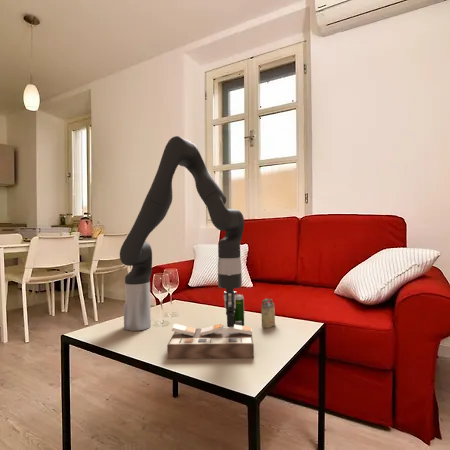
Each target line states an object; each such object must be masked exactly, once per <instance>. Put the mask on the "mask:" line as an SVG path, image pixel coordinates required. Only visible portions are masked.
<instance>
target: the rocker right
mask: <svg viewBox="0 0 450 450" xmlns="http://www.w3.org/2000/svg"><path fill="white" fill-rule="evenodd" d="M228 328H229V331H233V332H239V333H244V334H250V335H252V336H253V329H252V327H251V326H246V325H244V326H241V325H235V324H234V327H231V326H230V327H228Z"/></svg>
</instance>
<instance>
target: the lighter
mask: <svg viewBox="0 0 450 450" xmlns="http://www.w3.org/2000/svg"><path fill="white" fill-rule="evenodd" d="M261 303H262V304H261V309H260V310H261V327H262V328H263V329H270V328H271V327H274V326H275V325H276V316H275V315H276V314H275V313H276V312H275V308H276V307H275V302H273V298H270V299H269V298H264V299H263V300H262V301H261Z"/></svg>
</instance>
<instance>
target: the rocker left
mask: <svg viewBox="0 0 450 450" xmlns="http://www.w3.org/2000/svg"><path fill="white" fill-rule="evenodd" d="M196 329H197V328H194V327H191V326H185V325H181V324H179V323H174V324H173V326H172V328H171V331H172V332H179V333H183V334H186V335H190V336H194V333H195V330H196Z"/></svg>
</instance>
